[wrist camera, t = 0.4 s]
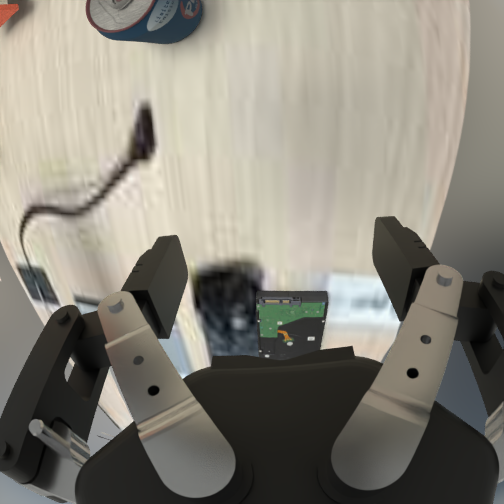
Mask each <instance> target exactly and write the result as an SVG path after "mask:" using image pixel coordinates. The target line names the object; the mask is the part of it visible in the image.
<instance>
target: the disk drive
mask: <svg viewBox="0 0 504 504" xmlns="http://www.w3.org/2000/svg"><path fill="white" fill-rule="evenodd" d="M327 308H328V296H327V291H257V294H256V317H257V331H258V348H259V357H261V358H267V359H274V360H287V359H290V358H294V357H297V356H301V355H304V354H307V353H310V352H314V351H317V350H320V347H321V342H322V336H323V331H324V325H325V319H326V315H327Z"/></svg>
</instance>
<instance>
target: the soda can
mask: <svg viewBox="0 0 504 504" xmlns="http://www.w3.org/2000/svg"><path fill="white" fill-rule="evenodd" d="M86 15H87V18H88V20H89V22H90V24H91V25H92V26H93V27H94V28H96V29H97V30H98V31H99V33H101V34H102V35H103V36H105V37H107V38H109V39H112V40H120V41H136V42H148V43H158V44H170V43H174V42H177V41H180V40H182V39H184V38H185V37H187V36H188V35H189V34H191V33H192V32H193V31H194V29H195V28H196V27H197V25H198V24H199V22H200V19H201V16H202V3H201V0H87V2H86Z"/></svg>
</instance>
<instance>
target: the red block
mask: <svg viewBox="0 0 504 504" xmlns="http://www.w3.org/2000/svg"><path fill="white" fill-rule="evenodd" d="M18 10H19V8H18V4H8V2H7V0H0V27H1V26H2V25H3V24H4V23H5V22H6V21H7V20H8V19H9V18H10V17H11V16H12V15H13V14H14V13H16V12H17V11H18Z"/></svg>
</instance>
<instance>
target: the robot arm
mask: <svg viewBox="0 0 504 504" xmlns="http://www.w3.org/2000/svg"><path fill="white" fill-rule="evenodd" d="M372 256H373V263H374V266H375V268H376V270H377V272H378V274H379V276H380V278H381V281H382V283H383V285H384V287H385V289H386V291H387V294H388V296H389V298H390V300H391V303H392V305H393V307H394V309H395V312H396V314H397V316H398V319H399V321H404V323H403V325H402V327H401V329H400V331H399V333H398V336H397V338H396V340H395V342H394V344H393V346H392V348H391V350H390V352H389V354H388V356H387V358H386V360H385V362H384V364H383V363H380V362H378V361H376V360H373V359H369V358H365V357H359V356H355V355H354V351H353V346H349V347H341V348H332V349H323V350H317V351H314V352H310V353H307V354H304V355H301V356H297V357H294V358H290V359H287V360H274V359H267V358H261V357H254V356H248V355H239V356H213V357H212V364H211V367H207V368H204V369H201V370H198V371H196V372H193V373H191V374H190V375H188V376H186V377H185V378H183V379H182V378H181V376H180V375H179V373H178V372H177V370H176V369H175V367H174V365H173V364H172V362H171V361H170V359H169V357H168V356H167V354H166V352H165V351H164V349H163V347H162V346H161V344H160V342H159V341H158V339H169V337H170V334H171V331H172V327H173V324H174V321H175V318H176V314H177V311H178V308H179V305H180V302H181V299H182V296H183V293H184V289H185V286H186V283H187V280H188V270H187V265H186V262H185V258H184V255H183V251H182V248H181V244H180V241H179V238H178V236H177V235H170V236H162V237H158V238H157V240H156V242H155V244H154V245H153V247H152V249H149V250H147V251H146V252H145V253H144V254H143V255H142V256H140V258H139V259H138V261H137V263H136V264H135V265H136V266H134V268H133V270H132V273H130V275H129V277H128V278H127V280H126V282H125V284H124V286H123V287H122V289H121V291H119V292H115V293H113V294H110V295H108V296H107V297H106V298H104V299H103V300H102V301H101V303H100V304H99V306H98V310H97V311H94V312H90V313H87V314H83V315H81V313H80V311H79V309H78V308H77V307H76V306H75V305H67V306H64V307H61V308H60V309H58V310H57V311H55V312H54V313H53V314H52V316H51V317H50V319H49V320H48V322H47V324H46V326H45V327H44V329H43V331H42V333H41V334H40V337H39V338H38V340H37V342H36V344H35V345H34V347H33V349H32V351H31V353H30V355H29V357H28V359H27V361H26V363H25V365H24V367H23V369H22V371H21V373H20V375H19V377H18V379H17V381H16V383H15V385H14V388H13V390H12V392H11V394H10V397H9V399H8V401H7V403H6V406H5V408H4V411H3V413H2V416H1V418H0V472H2V473H4V474H5V475H7V476H8V477H10V478H12V479H13V480H14V481H15V482H17V483H18V484H20V485H22V486H24V487H26V488H28V489H30V490H31V491H33V492H35V493H37V494H39V495H41V496H45V497H47V498H49V499H52V500H54V501H56V502H59V503H65V502H71V503H74V504H493V501H494V496H495V491H496V487H497V483H499V482H501V481H503V480H504V349H502V347H501V345H500V343H499V341H498V339H497V337H496V335H495V333H494V332H495V331H496V329H497V327H498V329H499V331H500V333H501V335H502V337H503V339H504V274H502V273H500V272H496V271H488V272H486V273H484V275H483V277H482V280H481V283H476V282H468V281H463V278H462V276H461V274H460V273H459V272H457V271H456V270H455V269H453V268H451V267H449V266H445V265H440V264H439V263H438V261H437V260H436V258H435V257H434V256H433V254H432V253H431V252H430V250H429V249H428V248H426V245H425V244H424V242H422V240H421V239H420V237H419V236H418V235H417V233H415V232H414V231H412V230H411V229H409V228H407V227H403V226H402V225H401V224H400V222H399V221H398V220H397V219H396V217H395V216H388V217H377V218H376V220H375V228H374V240H373V250H372ZM453 340H456V341H457V340H458V341H460V342H461V344H462V346H463V349H464V351H465V353H466V356H467V358H468V361H469V363H470V365H471V368H472V371H473V373H474V376H475V379H476V381H477V384H478V387H479V390H480V392H481V395H482V398H483V401H484V404H485V407H486V410H487V414H488V419H487V421H486V425H485V436H484V435H482V434H481V433H480V432H478V431H477V430H475V429H474V428H473V427H471V426H470V425H468V424H467V423H466V422H464V421H463V420H462V419H460V418H459V417H457V416H456V415H455V414H453V413H452V412H450V411H449V410H447V409H446V408H445V407H443V406H442V405H441V404H439V403H438V402H437V401H435V398H436V395H437V392H438V390H439V387H440V383H441V381H442V378H443V374H444V372H445V368H446V365H447V362H448V358H449V355H450V351H451V348H452V344H453ZM70 357H71V358H72V360H73V361H74V362H75V364H74V367H73V370H72V372H71V375H70V377H69V379H68V382H67V381H66V379H65V374H64V371H65V367H66V365H67V363H68V361H69V358H70ZM110 366H112V368H113V371H114V373H115V376H116V378H117V381H118V383H119V386H120V389H121V391H122V393H123V396H124V398H125V401H126V403H127V405H128V407H129V410H130V412H131V414H132V417H133V419H134V421H133V422H132V423H131V424H130V425H129V426H128V427H126V428H125V429H124V430H123V431H122V432H120V433H119V434H118V435H117V436H116V437H114V438H113V439H112V440H111V441H110V442H108V443H107V444H106V445H105V446H104V447H102V448H101V449H100V450H99V451H98V452H96V453H95V454H94V455H93V456H91V457H90V449H89V447H88V445H87V440H88V436H89V433H90V429H91V425H92V422H93V418H94V415H95V411H96V408H97V405H98V401H99V398H100V395H101V392H102V389H103V385H104V382H105V379H106V376H107V373H108V370H109V367H110Z"/></svg>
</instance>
